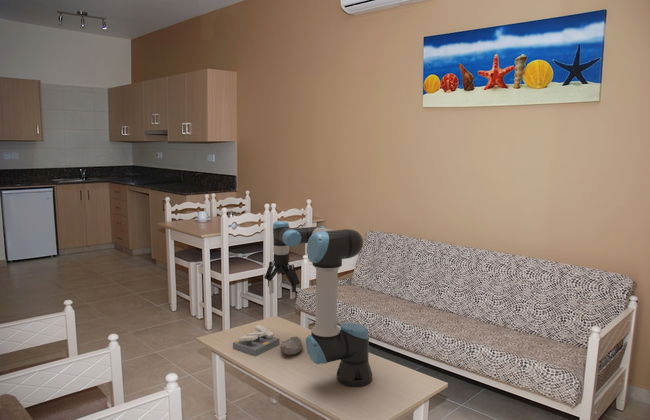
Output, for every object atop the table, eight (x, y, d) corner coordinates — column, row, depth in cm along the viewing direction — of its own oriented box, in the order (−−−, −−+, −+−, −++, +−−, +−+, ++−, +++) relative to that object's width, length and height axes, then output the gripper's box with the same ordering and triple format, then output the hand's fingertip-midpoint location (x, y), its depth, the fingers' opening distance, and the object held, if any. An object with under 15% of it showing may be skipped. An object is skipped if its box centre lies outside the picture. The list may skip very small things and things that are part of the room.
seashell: (294, 334, 245) (279, 326, 233) (311, 345, 238) (297, 337, 227) (284, 351, 243) (268, 343, 231) (301, 363, 236) (286, 355, 224)
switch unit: (279, 344, 245) (279, 334, 244) (255, 356, 231) (255, 346, 230) (257, 337, 253) (257, 328, 253) (232, 348, 240) (232, 339, 239)
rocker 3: (273, 336, 245) (274, 333, 244) (268, 339, 242) (269, 336, 242) (259, 327, 250) (259, 324, 250) (254, 329, 247) (254, 326, 247)
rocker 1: (258, 338, 236) (257, 335, 236) (252, 341, 233) (252, 337, 233) (244, 339, 242) (243, 336, 242) (238, 341, 239) (237, 338, 239)
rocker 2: (266, 334, 240) (265, 331, 240) (261, 337, 237) (260, 333, 237) (252, 335, 246) (251, 332, 246) (246, 338, 243) (246, 334, 243)
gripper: (306, 255, 234) (306, 298, 237) (267, 248, 248) (267, 289, 251) (296, 258, 228) (297, 302, 231) (256, 251, 242) (257, 293, 245)
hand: (281, 295), depth 241 cm, fingers open, 13 cm apart
